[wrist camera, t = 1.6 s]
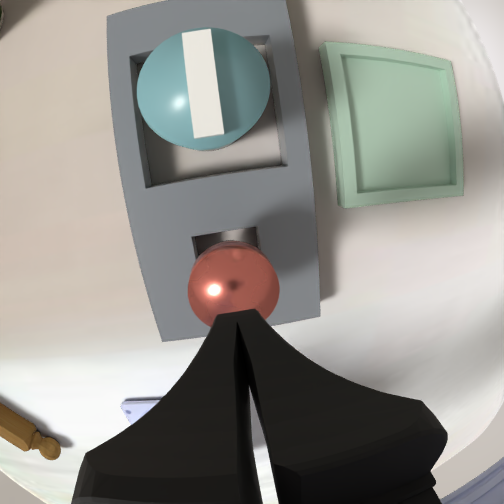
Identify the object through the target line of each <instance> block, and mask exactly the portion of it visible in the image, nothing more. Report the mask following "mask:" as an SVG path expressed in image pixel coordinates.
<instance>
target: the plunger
mask: <svg viewBox="0 0 504 504" xmlns="http://www.w3.org/2000/svg"><path fill="white" fill-rule="evenodd" d="M279 293H280V285H279V280H278V277H277V274H276V272H275V270H274V268H273V266H272V264H271V262H270V260H269V259H268V258H267V256H266V255H265V254H264V253H263V252H262V251H261V250H259V249H258V248H256V247H255V246H253V245H251V244H248V243H245V242H240V241H234V240H227V241H222V242H219V243H217V244H215V245H213V246H211V247H209V248H208V249H206V250H205V251H204V252H203V253H201V254H200V256H199V257H198V258H197V259H196V261H195V262H194V264H193V267H192V269H191V273H190V278H189V283H188V300H189V303H190V306H191V308H192V310H193V312H194V313H195V315H196V316H197V317H198V318H199V319H200V320H201V321H202V322H203V323H205V324H206V325H208V326H210V327H211V326H212V324H213V322H214V319H215V317H216V316H217V315H218V314H223V313H230V312H236V311H242V310H249V309H256V310H258V311H259V313H260V314H261V316H262V317H263V318H264V319H265V320H266V319H267V318H268V317H269V316H270V315H271V313H272V312H273V311H274V309H275V307H276V305H277V302H278V299H279Z"/></svg>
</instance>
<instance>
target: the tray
mask: <svg viewBox="0 0 504 504" xmlns="http://www.w3.org/2000/svg"><path fill="white" fill-rule="evenodd" d="M319 52H320V58H321V63H322V69H323V75H324V82H325V88H326V95H327V102H328V109H329V117H330V125H331V133H332V142H333V151H334V162H335V173H336V185H337V199H338V205H339V206H341V207H343V208H345V209H346V208H354V207H363V206H371V205H379V204H388V203H397V202H406V201H415V200H424V199H434V198H444V197H455V196H463V194H464V176H463V148H462V134H461V123H460V114H459V106H458V99H457V92H456V86H455V80H454V75H453V70H452V65H451V61H448V60H445V59H441V58H437V57H433V56H428V55H424V54H419V53H414V52H409V51H404V50H398V49H392V48H386V47H379V46H371V45H363V44H353V43H342V42H326V41H325V42H324V43H323V44H322V45H321V46H320V47H319Z"/></svg>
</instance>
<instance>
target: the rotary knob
mask: <svg viewBox="0 0 504 504" xmlns="http://www.w3.org/2000/svg"><path fill="white" fill-rule="evenodd" d="M269 94H270V76H269V71H268V68H267V65H266V63H265V61H264V59H263V57H262V55H261V54H260V52H259V51H258V50H257V49H256V48H255V47H254V46H253V45H252V44H251V43H250V42H249V41H248V40H246V39H245V38H243V37H242V36H240V35H238V34H236V33H233V32H231V31H228V30H224V29H220V28H211V27H203V28H194V29H189V30H186V31H183V32H180V33H178V34H175V35H173V36H171V37H170V38H168V39H167V40H165V41H164V42H162V43H161V44H160V45H159V46H157V47H156V48H155V49H154V51H153V52H152V53H151V54H150V55H149V57H148V58H147V59H146V61H145V63H144V65H143V67H142V69H141V71H140V74H139V78H138V82H137V100H138V105H139V108H140V111H141V114H142V116H143V118H144V120H145V121H146V122H147V124H148V125H149V127H150V128H151V129H152V130H153V131H154V132H155V133H157V134H158V135H159V136H160V137H162V138H163V139H165V140H167V141H168V142H171V143H173V144H175V145H179V146H182V147H186V148H190V149H194V150H198V151H214V150H219V149H221V148H224V147H226V146H228V145H230V144H231V143H233V142H234V141H236V140H237V139H238V138H240V137H241V136H242V135H244V134H245V133H246V132H247V131H248V130H250V129H251V128H252V127H253V126H254V124H255V123H256V122H257V121H258V119H259V118H260V117H261V115H262V113H263V111H264V110H265V107H266V105H267V102H268V98H269Z"/></svg>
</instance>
